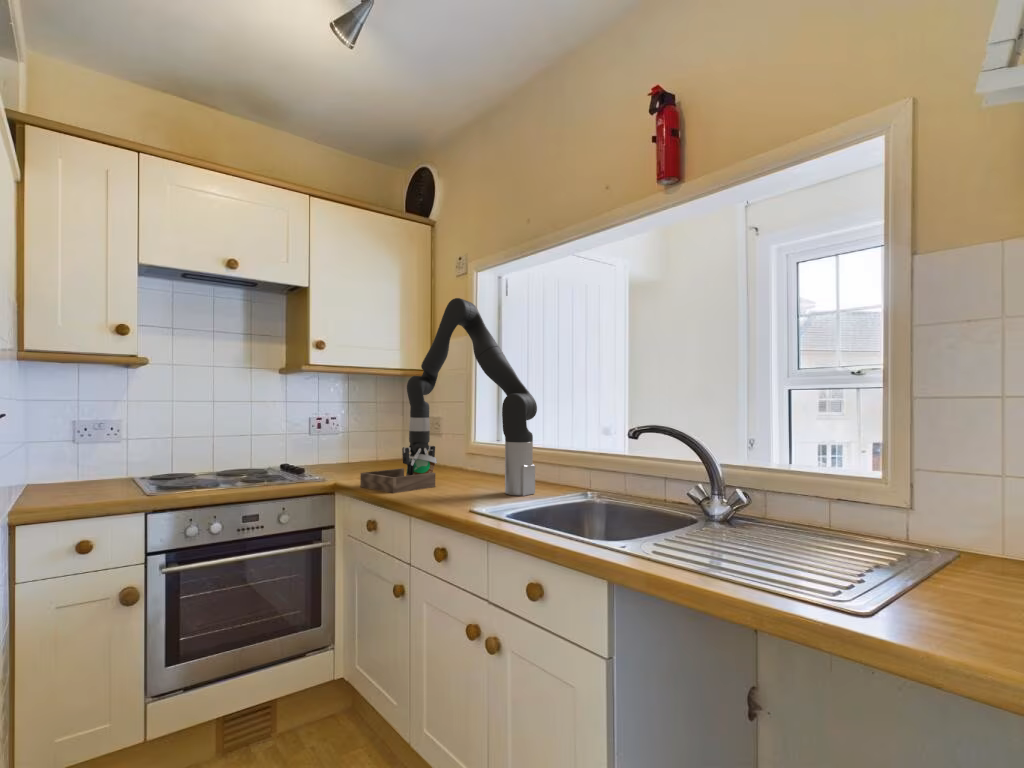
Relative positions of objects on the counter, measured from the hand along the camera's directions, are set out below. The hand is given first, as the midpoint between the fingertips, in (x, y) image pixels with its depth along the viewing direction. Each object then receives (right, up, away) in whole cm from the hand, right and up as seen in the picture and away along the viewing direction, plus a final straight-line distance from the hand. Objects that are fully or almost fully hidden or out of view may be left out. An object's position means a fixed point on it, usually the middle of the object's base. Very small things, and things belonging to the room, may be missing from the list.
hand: (418, 474), depth 200 cm
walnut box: (-6, -3, -7) cm, 9 cm away
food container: (-1, -2, -3) cm, 4 cm away
